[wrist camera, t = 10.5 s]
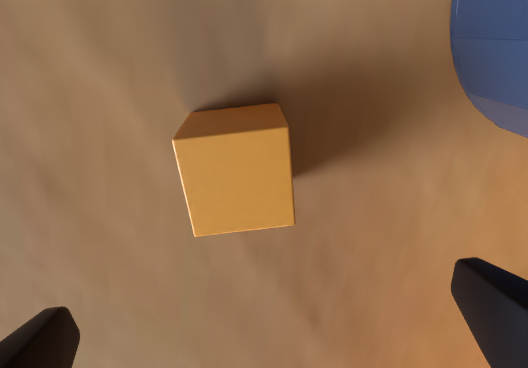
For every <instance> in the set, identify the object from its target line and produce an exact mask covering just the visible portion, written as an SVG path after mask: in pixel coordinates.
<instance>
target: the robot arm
mask: <svg viewBox="0 0 528 368" xmlns="http://www.w3.org/2000/svg"><path fill="white" fill-rule="evenodd" d="M451 292H452V295H453V297H454V299H455V301H456V303H457V305H458V307H459V309H460V311H461V313H462V315H463V317H464V319H465V320H466V322H467V324H468V326H469V328H470V330H471V332H472V334H473V336H474V338H475V339H476V341H477V343H478V345H479V347H480V349H481V351H482V353H483V354H484V356H485V358H486V360H487V362H488V363H489V365H490V366H491V368H528V281H527V280H525V279H523V278H521V277H519V276H517V275H514V274H512V273H510V272H508V271H506V270H504V269H501V268H499V267H497V266H495V265H493V264H491V263H488V262H486V261H484V260H482V259H480V258H476V257H472V258H463V259H459V260H457V262H456V263H455V267H454V272H453V277H452V282H451ZM79 341H80V332H79V329H78V327H77V325H76V323H75V321H74V319H73V317H72V315H71V313H70V311H69V310H68V309H67V308H66V307H63V306H62V307H53V308H47V309H45V310H43V311H42V312H40V313H39V314H37V315H36V316H35V317H33V318H32V319H31V320H29V321H28V322H27V323H25V324H24V325H22V326H21V327H20V328H18V329H17V330H16V331H14V332H13V333H12V334H10V335H9V336H7V337H6V338H5V339H3V340H2V341H1V342H0V368H72V365H73V361H74V358H75V355H76V351H77V348H78V345H79Z"/></svg>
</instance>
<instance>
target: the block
mask: <svg viewBox="0 0 528 368" xmlns="http://www.w3.org/2000/svg"><path fill="white" fill-rule="evenodd" d="M172 143H173V147H174V152H175V156H176V160H177V164H178V169H179V173H180V177H181V181H182V186H183V190H184V194H185V198H186V202H187V207H188V211H189V215H190V219H191V224H192V228H193V232H194V235H195V236H204V235H212V234H221V233H230V232H238V231H247V230H256V229H264V228H273V227H282V226H290V225H295V209H294V194H293V179H292V164H291V149H290V135H289V127H288V124H287V122H286V120H285V118H284V116H283V114H282V111H281V109H280V107H279V105H278V103H271V104H262V105H254V106H245V107H236V108H227V109H218V110H209V111H200V112H191V113H190V114H189V115H188V117H187V118H186V120H185V121H184V123H183V124H182V126H181V127H180V129H179V130H178V132H177V133H176V135H175V136H174V138H173V139H172Z"/></svg>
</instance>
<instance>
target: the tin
mask: <svg viewBox="0 0 528 368" xmlns="http://www.w3.org/2000/svg"><path fill="white" fill-rule="evenodd" d="M450 38H451V50H452V56H453V62H454V66H455V69H456V72H457V75H458V78H459V81H460V83H461V85H462V87H463V89H464V91H465V93H466V95H467V96H468V98H469V99H470V100H471V102H472V103H473V104H474V106H475V107H476V108H477V109H478V110H479V111H480V112H481V113H482V114H483V115H484V116H485V117H487V118H488V119H490V120H491V121H493V122H494V123H495V124H496V125H497V126H499V127H500V128H503V129H506V130H508V131H511V132H514V133H516V134H519V135H522V136H524V137H527V138H528V0H452V8H451V20H450Z"/></svg>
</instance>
